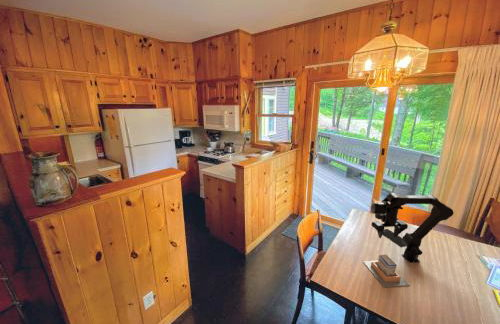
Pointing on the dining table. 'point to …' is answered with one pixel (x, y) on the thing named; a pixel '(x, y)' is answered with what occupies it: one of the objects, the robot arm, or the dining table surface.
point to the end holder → (381, 277)
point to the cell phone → (390, 236)
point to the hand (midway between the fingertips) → (387, 237)
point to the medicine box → (386, 265)
